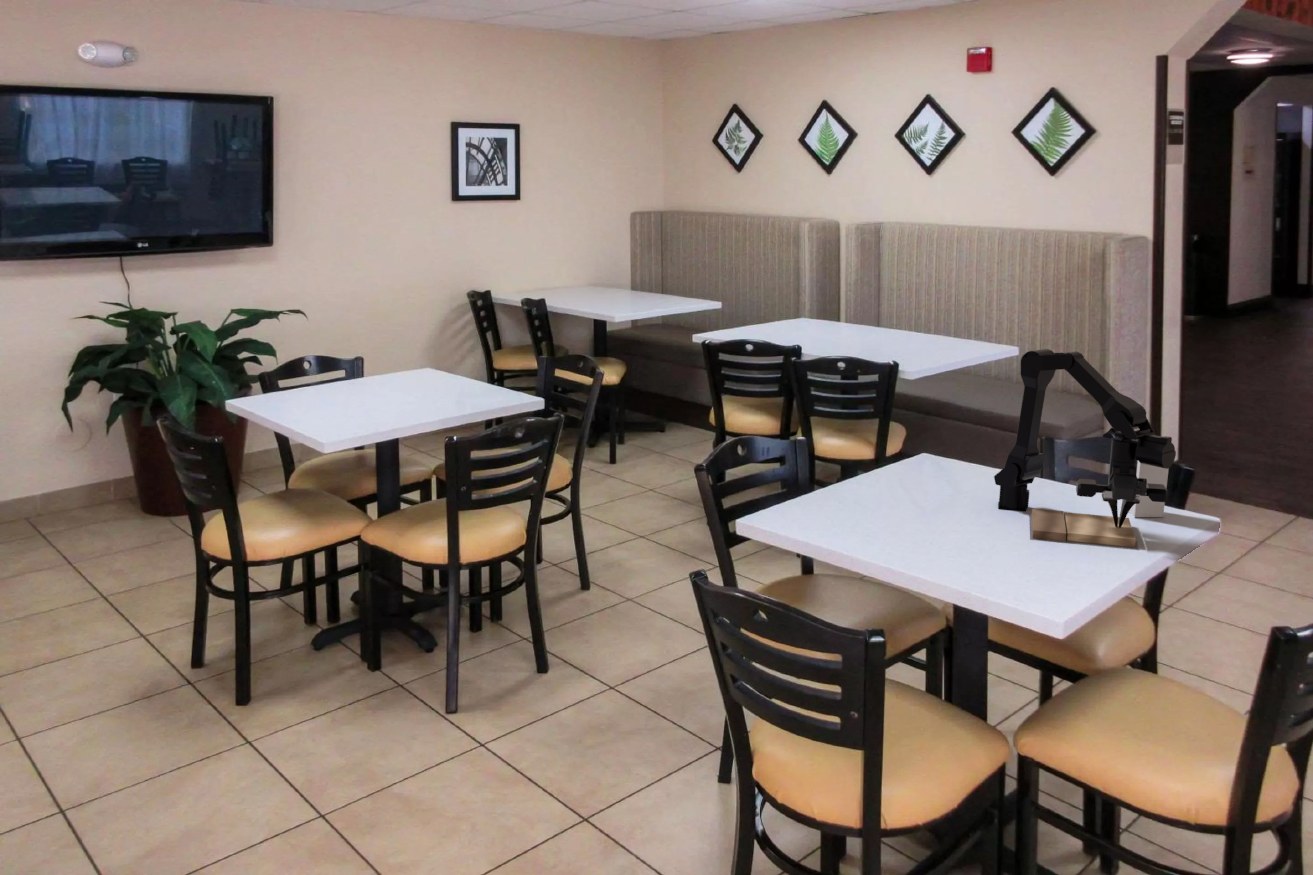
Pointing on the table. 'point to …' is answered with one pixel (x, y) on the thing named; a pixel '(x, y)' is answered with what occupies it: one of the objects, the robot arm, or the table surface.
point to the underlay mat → (1081, 542)
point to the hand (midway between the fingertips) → (1117, 527)
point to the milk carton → (1146, 505)
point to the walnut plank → (1048, 525)
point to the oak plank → (1098, 530)
